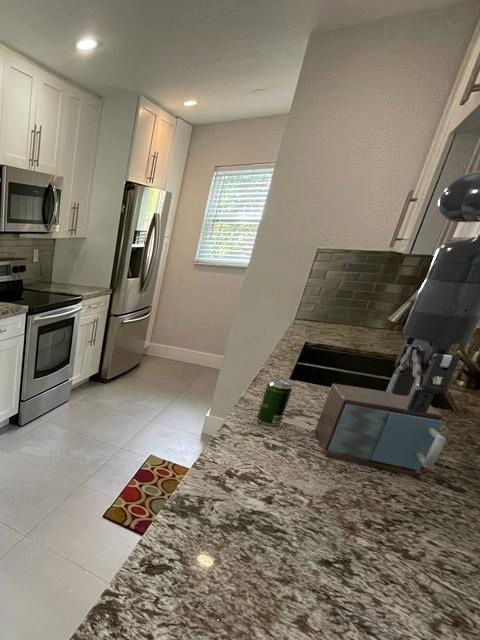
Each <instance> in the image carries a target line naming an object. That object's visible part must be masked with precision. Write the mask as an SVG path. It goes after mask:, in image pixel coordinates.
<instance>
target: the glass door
mask: <svg viewBox="0 0 480 640" xmlns="http://www.w3.org/2000/svg"><path fill="white" fill-rule="evenodd" d="M443 424H444V421H443V420H442V419H441V420H435V419H429V418H423V417H417V416H411V415H406V414H400V413H394V412H390V415H389V417H388V419H387V421H386V424H385V426H384V428H383V431H382V433H381V435H380V438H379V440H378V442H377V444H376V447H375V449H374V451H373V454H372V456H371V458H370V459H371V460H372V461H377V462H382V463H386V464H391V465H396V466H400V467H405V468H410V469H414V470H418V471H420V470H421V469H422V467H424V468H425V469H432V468H433V467H434V466H435V463H436V461H437V459H438V457H439V455H440V453H441V451H442V449H443V447H444V445H445V443H446V441H447V438H446V436H443V435H442V434H440V433H439V431H440V429H441V427H442V425H443Z"/></svg>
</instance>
